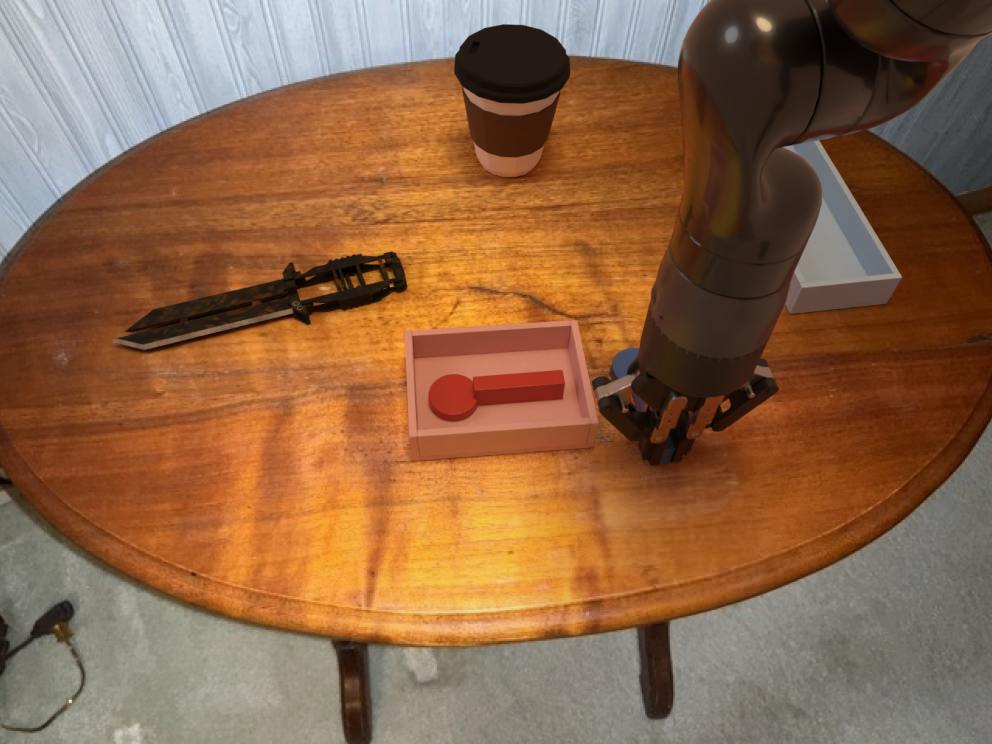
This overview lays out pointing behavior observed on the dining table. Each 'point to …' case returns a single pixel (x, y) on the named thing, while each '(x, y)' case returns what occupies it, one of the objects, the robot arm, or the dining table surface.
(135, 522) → the dining table surface
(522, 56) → the coffee cup
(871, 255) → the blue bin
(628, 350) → the blue spoon
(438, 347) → the rose bin
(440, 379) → the red spoon
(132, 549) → the dining table surface
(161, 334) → the knife
